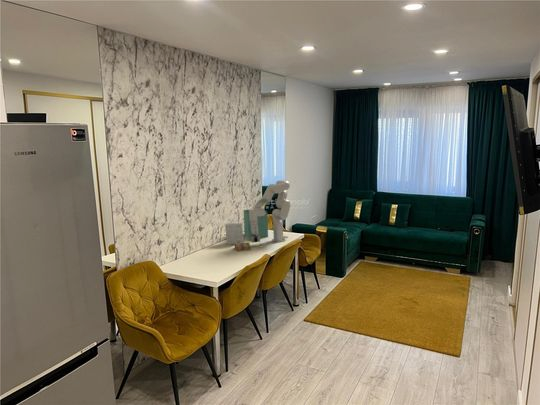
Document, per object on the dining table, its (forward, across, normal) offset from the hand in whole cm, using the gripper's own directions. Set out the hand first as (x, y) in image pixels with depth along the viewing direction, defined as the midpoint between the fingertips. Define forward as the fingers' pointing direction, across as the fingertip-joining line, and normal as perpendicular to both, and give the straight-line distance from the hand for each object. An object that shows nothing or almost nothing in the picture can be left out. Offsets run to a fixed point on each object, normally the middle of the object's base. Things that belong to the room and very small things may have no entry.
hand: (255, 240), depth 366 cm
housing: (+1, 0, 0) cm, 1 cm away
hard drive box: (+4, +14, +18) cm, 23 cm away
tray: (+4, -8, +15) cm, 17 cm away
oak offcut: (+4, +2, +9) cm, 10 cm away
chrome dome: (+5, -7, -3) cm, 9 cm away
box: (+6, +37, -9) cm, 39 cm away
